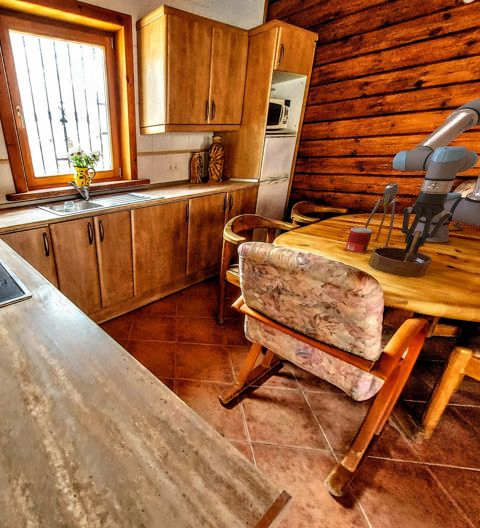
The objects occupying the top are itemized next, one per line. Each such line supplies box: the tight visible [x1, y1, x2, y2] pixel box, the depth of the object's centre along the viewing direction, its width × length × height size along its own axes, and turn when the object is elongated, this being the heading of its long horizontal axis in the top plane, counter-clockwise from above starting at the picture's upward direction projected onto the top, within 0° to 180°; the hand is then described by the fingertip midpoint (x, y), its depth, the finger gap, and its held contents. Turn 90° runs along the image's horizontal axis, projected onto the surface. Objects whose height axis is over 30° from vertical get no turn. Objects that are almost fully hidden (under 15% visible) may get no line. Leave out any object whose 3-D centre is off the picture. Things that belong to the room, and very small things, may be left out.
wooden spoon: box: [404, 231, 421, 262], centre depth 110 cm, size 4×4×15 cm
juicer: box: [363, 182, 399, 247], centre depth 135 cm, size 10×11×30 cm
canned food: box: [345, 226, 373, 254], centre depth 131 cm, size 8×8×11 cm
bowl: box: [368, 246, 433, 278], centre depth 113 cm, size 18×18×6 cm
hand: (410, 251), depth 111 cm, fingers closed on wooden spoon, 2 cm apart
